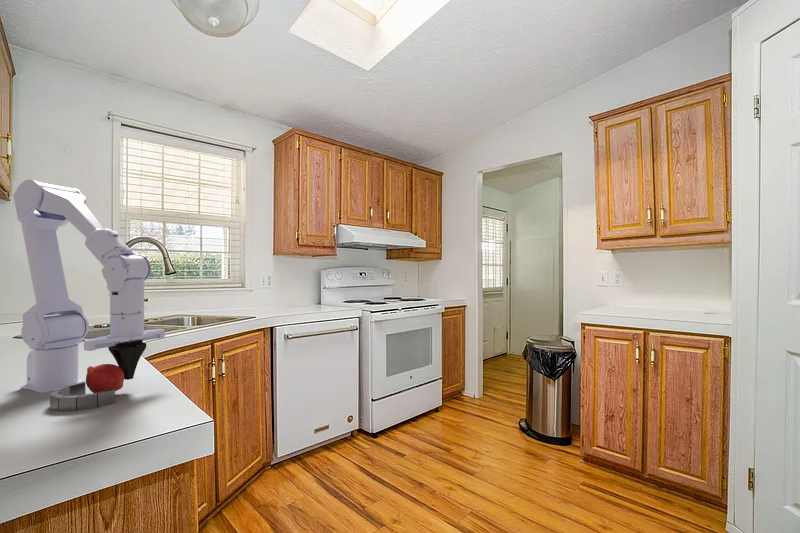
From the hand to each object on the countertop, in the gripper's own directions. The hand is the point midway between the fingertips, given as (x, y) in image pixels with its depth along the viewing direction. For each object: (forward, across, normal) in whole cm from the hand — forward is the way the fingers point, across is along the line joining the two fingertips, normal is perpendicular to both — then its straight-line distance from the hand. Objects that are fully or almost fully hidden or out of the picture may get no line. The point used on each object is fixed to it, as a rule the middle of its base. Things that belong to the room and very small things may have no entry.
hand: (127, 378), depth 78 cm
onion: (+2, -1, 0) cm, 2 cm away
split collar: (+2, -7, 0) cm, 7 cm away
